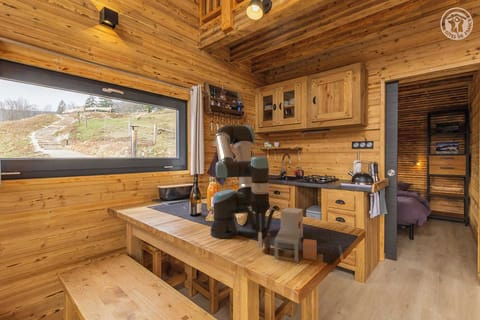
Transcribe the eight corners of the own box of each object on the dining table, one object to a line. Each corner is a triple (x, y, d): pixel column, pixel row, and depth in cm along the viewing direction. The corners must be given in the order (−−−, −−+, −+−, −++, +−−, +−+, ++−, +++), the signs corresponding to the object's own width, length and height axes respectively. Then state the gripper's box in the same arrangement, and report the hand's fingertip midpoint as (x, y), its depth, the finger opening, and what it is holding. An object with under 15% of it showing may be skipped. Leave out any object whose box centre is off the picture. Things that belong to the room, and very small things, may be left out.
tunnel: (274, 262, 89) (274, 239, 89) (280, 248, 102) (280, 228, 101) (297, 265, 86) (297, 242, 86) (300, 251, 98) (300, 230, 98)
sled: (264, 256, 94) (264, 238, 94) (268, 249, 100) (268, 232, 100) (323, 265, 86) (322, 245, 86) (323, 257, 92) (322, 238, 92)
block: (303, 258, 89) (302, 243, 89) (304, 253, 94) (303, 238, 94) (316, 260, 88) (316, 245, 87) (316, 254, 92) (316, 240, 92)
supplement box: (298, 244, 107) (297, 212, 106) (280, 240, 112) (279, 210, 111) (303, 237, 114) (303, 208, 114) (286, 234, 119) (286, 206, 119)
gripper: (243, 193, 96) (244, 247, 96) (273, 194, 91) (273, 251, 92) (248, 190, 103) (249, 241, 103) (276, 191, 98) (277, 244, 99)
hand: (261, 246), depth 98 cm, fingers closed
